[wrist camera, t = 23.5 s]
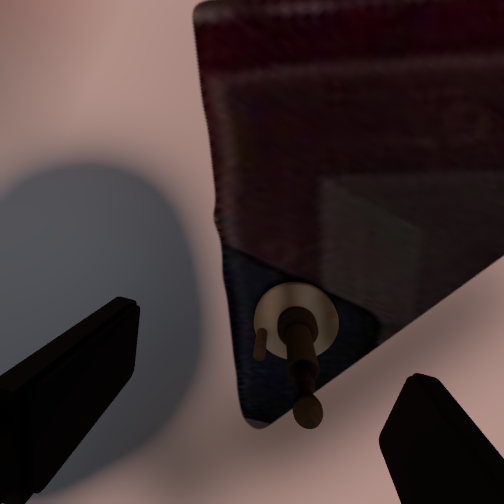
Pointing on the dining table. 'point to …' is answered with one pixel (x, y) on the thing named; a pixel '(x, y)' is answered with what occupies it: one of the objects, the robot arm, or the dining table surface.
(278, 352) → the disc
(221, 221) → the dining table surface
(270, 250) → the dining table surface
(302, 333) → the wooden pepper mill
